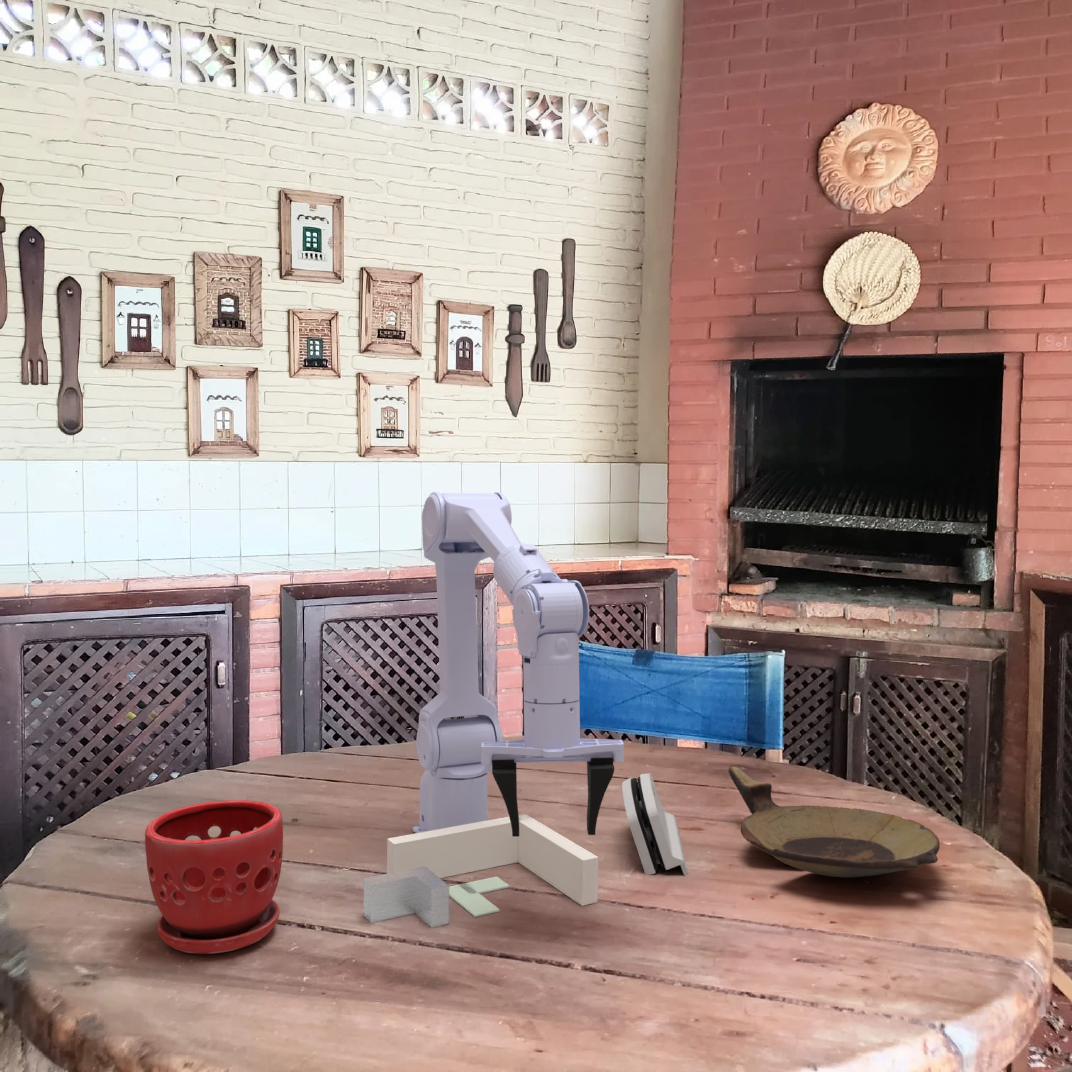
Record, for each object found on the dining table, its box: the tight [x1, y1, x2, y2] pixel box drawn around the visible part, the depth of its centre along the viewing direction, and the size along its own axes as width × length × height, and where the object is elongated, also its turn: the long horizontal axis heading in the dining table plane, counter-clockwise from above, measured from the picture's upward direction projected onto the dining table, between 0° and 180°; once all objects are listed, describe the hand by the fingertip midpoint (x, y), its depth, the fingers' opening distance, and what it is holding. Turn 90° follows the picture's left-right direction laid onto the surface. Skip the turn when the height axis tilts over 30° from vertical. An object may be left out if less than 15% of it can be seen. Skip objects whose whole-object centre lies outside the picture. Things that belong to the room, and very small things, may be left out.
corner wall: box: [386, 813, 599, 907], centre depth 113 cm, size 16×18×5 cm
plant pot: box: [144, 799, 284, 955], centre depth 101 cm, size 13×13×12 cm
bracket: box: [363, 866, 450, 929], centre depth 106 cm, size 7×6×4 cm
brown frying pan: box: [728, 765, 941, 879], centre depth 125 cm, size 22×30×8 cm
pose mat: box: [449, 876, 511, 918], centre depth 112 cm, size 8×7×1 cm
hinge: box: [621, 772, 689, 877], centre depth 127 cm, size 17×5×10 cm, turn 176°
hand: (553, 833), depth 104 cm, fingers open, 7 cm apart
